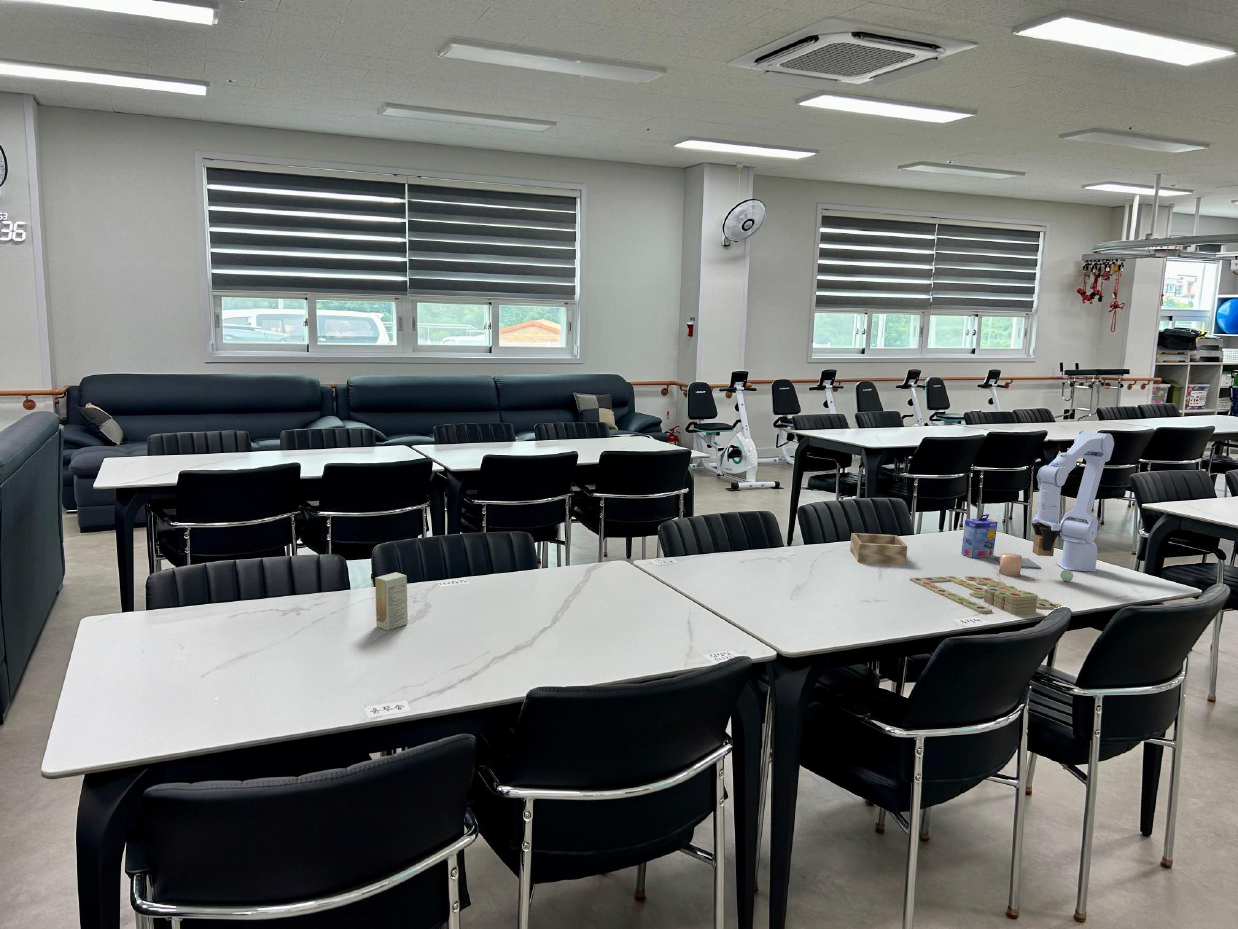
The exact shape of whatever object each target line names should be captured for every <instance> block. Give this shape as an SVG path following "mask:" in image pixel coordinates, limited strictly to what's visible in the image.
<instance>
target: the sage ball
mask: <svg viewBox="0 0 1238 929" xmlns="http://www.w3.org/2000/svg"><path fill="white" fill-rule="evenodd" d="M1059 577H1060V579H1061V580H1062V581H1064V582H1068V583H1069V582H1071V581H1072V580H1073V578H1074V574H1073V571H1072V570H1065V569H1063V570H1062V571H1061V572H1060V576H1059Z"/></svg>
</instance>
